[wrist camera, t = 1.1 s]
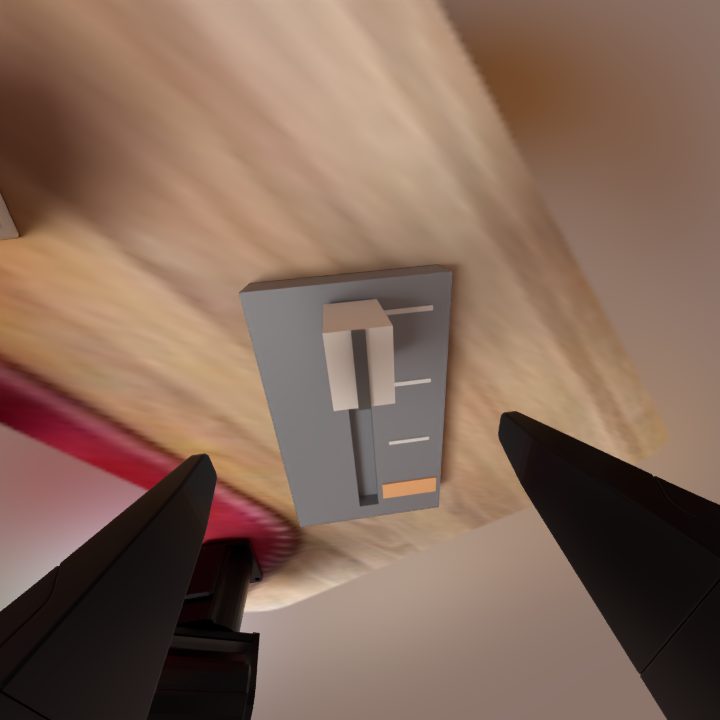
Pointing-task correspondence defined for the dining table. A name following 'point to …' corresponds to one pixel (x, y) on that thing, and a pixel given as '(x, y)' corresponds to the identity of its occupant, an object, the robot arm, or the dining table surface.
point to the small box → (6, 223)
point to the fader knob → (359, 354)
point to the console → (353, 426)
